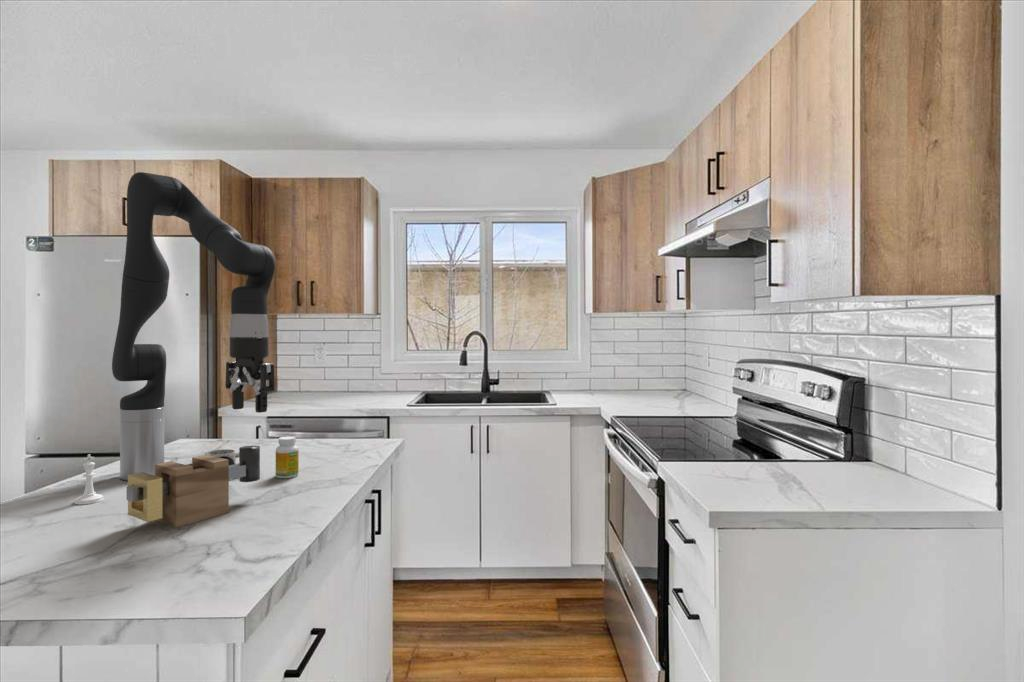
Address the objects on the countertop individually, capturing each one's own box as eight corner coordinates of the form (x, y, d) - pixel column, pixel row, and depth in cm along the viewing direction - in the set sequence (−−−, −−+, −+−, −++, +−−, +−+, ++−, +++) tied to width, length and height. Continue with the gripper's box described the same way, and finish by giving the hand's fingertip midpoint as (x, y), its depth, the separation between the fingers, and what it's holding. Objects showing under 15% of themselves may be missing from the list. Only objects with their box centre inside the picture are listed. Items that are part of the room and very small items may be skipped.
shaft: (124, 506, 99) (124, 467, 99) (252, 476, 120) (252, 444, 120) (135, 510, 97) (134, 470, 97) (263, 478, 118) (263, 446, 118)
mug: (207, 483, 130) (207, 456, 130) (202, 478, 135) (202, 451, 135) (252, 477, 136) (252, 450, 136) (246, 471, 142) (246, 446, 141)
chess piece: (105, 501, 116) (105, 454, 116) (76, 506, 113) (76, 458, 113) (100, 496, 120) (100, 451, 120) (72, 501, 116) (72, 454, 116)
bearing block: (154, 519, 105) (154, 464, 105) (206, 505, 114) (206, 454, 113) (176, 527, 101) (176, 470, 101) (228, 512, 109) (228, 459, 109)
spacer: (127, 514, 101) (127, 474, 101) (142, 510, 103) (142, 472, 103) (147, 522, 97) (147, 480, 97) (162, 518, 99) (162, 477, 99)
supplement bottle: (290, 479, 134) (290, 440, 134) (270, 478, 136) (270, 439, 135) (302, 474, 140) (302, 436, 140) (284, 472, 141) (284, 435, 141)
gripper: (213, 335, 118) (213, 410, 118) (252, 335, 110) (252, 415, 110) (246, 335, 124) (246, 406, 124) (285, 335, 116) (285, 411, 116)
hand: (249, 410), depth 117 cm, fingers open, 8 cm apart
